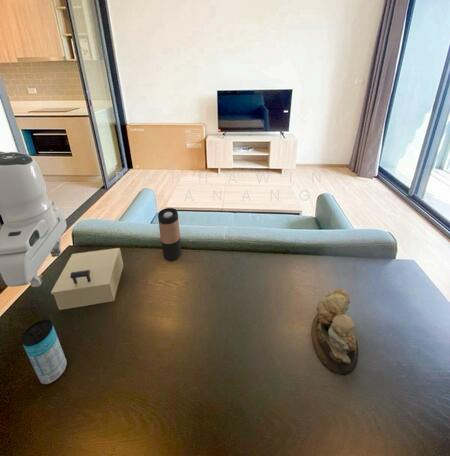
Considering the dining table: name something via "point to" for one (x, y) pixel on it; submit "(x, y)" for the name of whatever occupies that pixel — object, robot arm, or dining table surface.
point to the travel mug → (170, 233)
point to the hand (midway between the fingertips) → (48, 268)
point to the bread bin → (92, 292)
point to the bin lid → (87, 271)
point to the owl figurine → (335, 333)
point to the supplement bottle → (44, 351)
